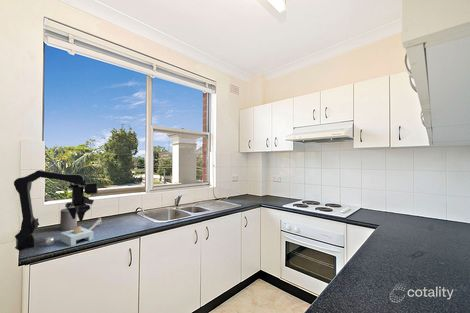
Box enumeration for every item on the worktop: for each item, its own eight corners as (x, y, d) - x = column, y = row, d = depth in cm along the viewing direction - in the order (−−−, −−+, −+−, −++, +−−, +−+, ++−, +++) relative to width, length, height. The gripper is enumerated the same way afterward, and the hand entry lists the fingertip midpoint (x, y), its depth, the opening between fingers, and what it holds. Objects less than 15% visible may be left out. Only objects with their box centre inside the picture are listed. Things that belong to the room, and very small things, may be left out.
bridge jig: (70, 245, 124) (71, 237, 124) (60, 240, 132) (60, 232, 132) (93, 239, 135) (93, 231, 135) (82, 235, 142) (82, 227, 142)
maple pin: (75, 241, 130) (75, 228, 130) (71, 240, 132) (72, 227, 133) (82, 239, 134) (82, 226, 134) (79, 238, 136) (79, 225, 136)
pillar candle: (57, 229, 153) (57, 208, 153) (72, 225, 161) (72, 205, 161) (64, 231, 148) (65, 209, 148) (80, 227, 157) (80, 207, 157)
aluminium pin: (46, 246, 123) (46, 239, 123) (43, 245, 125) (43, 238, 125) (55, 244, 126) (55, 237, 126) (52, 243, 128) (52, 236, 128)
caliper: (99, 225, 164) (100, 216, 164) (101, 225, 164) (101, 216, 164) (84, 234, 144) (84, 225, 144) (86, 234, 144) (86, 225, 144)
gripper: (99, 194, 135) (99, 219, 135) (84, 191, 145) (84, 214, 145) (79, 197, 126) (78, 223, 126) (65, 193, 136) (64, 218, 136)
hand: (77, 220), depth 133 cm, fingers open, 9 cm apart
